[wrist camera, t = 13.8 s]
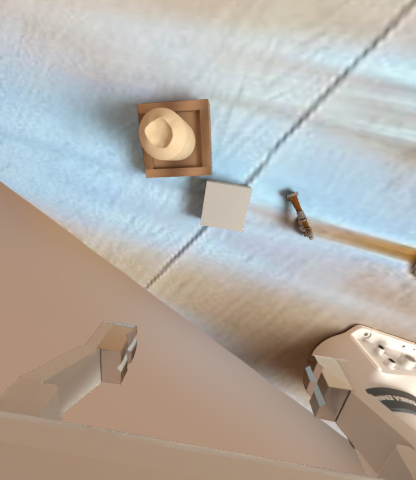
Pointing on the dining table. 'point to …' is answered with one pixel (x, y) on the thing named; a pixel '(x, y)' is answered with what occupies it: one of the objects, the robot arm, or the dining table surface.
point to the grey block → (225, 205)
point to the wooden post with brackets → (301, 216)
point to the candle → (166, 135)
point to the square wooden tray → (201, 157)
